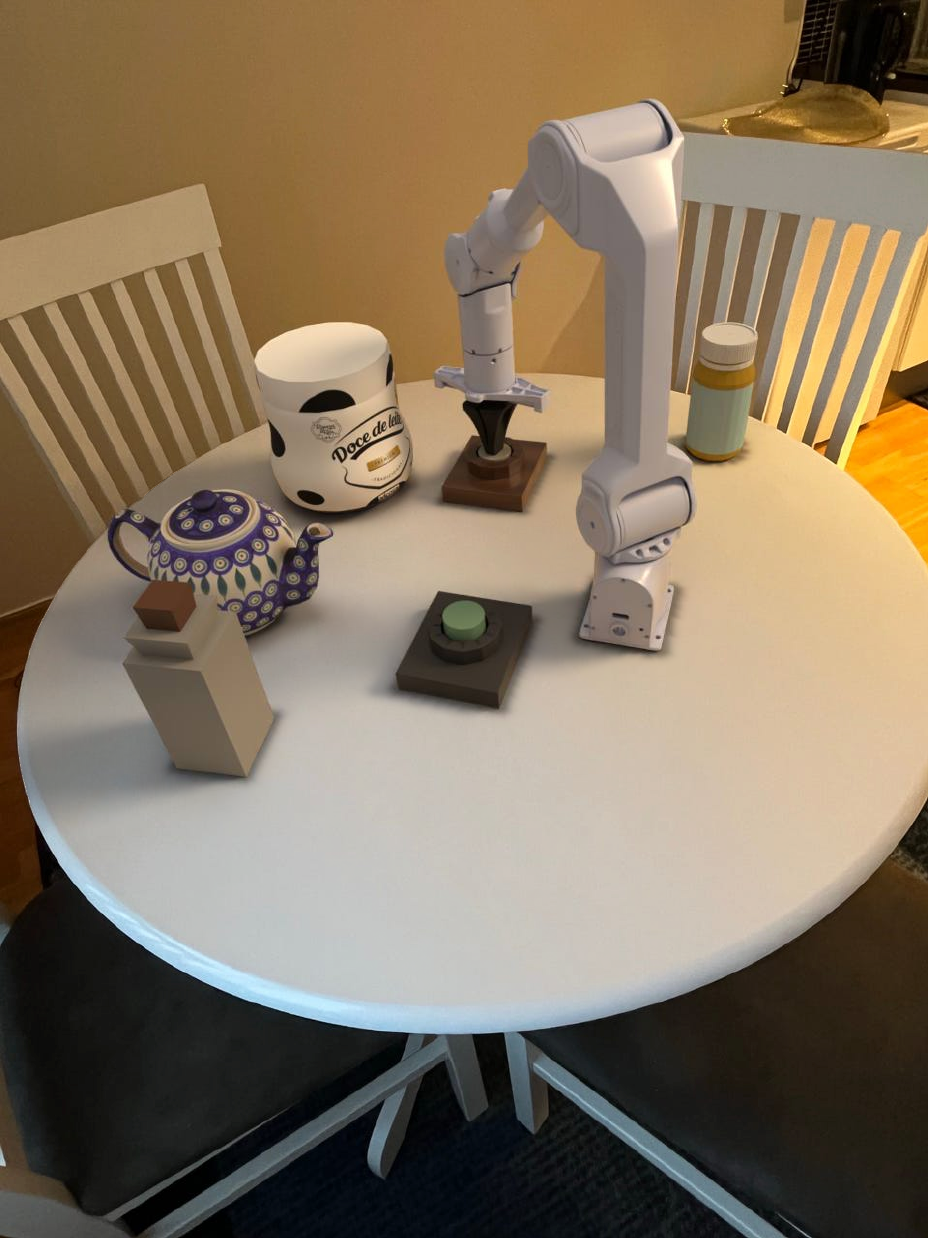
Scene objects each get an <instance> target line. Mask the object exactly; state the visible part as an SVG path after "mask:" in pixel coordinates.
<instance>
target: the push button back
mask: <svg viewBox="0 0 928 1238" xmlns="http://www.w3.org/2000/svg"><path fill="white" fill-rule="evenodd" d="M504 443H505V444H507V445H508V446H509V447H510V448H511V456H510V457H509V458H507V459H505V460H503V461H497V462H489V461H483V460H481V459H480V458H479V456H478V450H479V448H480V447H481V446H483V444H482V441H481V439H480V436H479V435H471V436H470V438H469V439H468V441H467V443H466V444H465V446H464V448H463V449H462V451H461V453H460V454H459V456H458V457H457V459H456V461H455V463H454V465H453V466H452V467H451V469H450V471H449V473H448V474H447V476H446V478H445V480H444V481H443V483H442V485H441V486H440V488H441V496H442V502H443V503H451V504H458V505H459V504H461V505H467V506H476V507H482V508H483V507H484V508H491V509H497V510H499V509H500V510H507V511H514V512H523V511H524V510H525V506H526V504H527V503H528V500H529V498H530V496H531V494H532V491H533V489H534V487H535V485H536V483H537V481H538V479H539V476H540V474H541V472H542V470H543V468H544V465H545V463H546V461H547V459H548V443H547V442H543V441H534V440H526V439H525V440H523V439H513V438H512V437H509V436H508V437H507V436H505V441H504Z"/></svg>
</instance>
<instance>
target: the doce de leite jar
mask: <svg viewBox="0 0 928 1238" xmlns="http://www.w3.org/2000/svg"><path fill="white" fill-rule="evenodd" d="M253 363H254V372H255V373H254V374H255V380H256V383H257V386H258V388H259V389H258V390H259V391H260V400H261V403H262V406H263V410H264V413H265V416H266V418H267V422H268V423H267V424H268V426H269V432H270V446H269V447H270V448H269V449H270V450H269V454H270V464H271V469H272V472H273V474H274V477H275V480H276V481H277V483H278V485H279V487H280V490H281V491H282V493H283V494H284V495H285V497H287V498H288V499H289V500H290V501H291V502H292V503H294V504H295V505H297V506H298V507H300V508H303V509H306V510H309V511H313V512H317V513H321V514H322V513H323V514H324V513H325V514H328V513H329V514H330V513H331V514H345V513H351V512H357V511H362V510H366V509H368V508H371V507H373V506H375V505H378V504H381V503H383V502H384V501H386V500H387V499H390V498H391V497H393V496H394V495H396V494H397V493H398V492H399V491H400V490H401V489H402V488H403V487H404V485H405V484H406V483H407V481H408V480H409V477H410V475H411V472H412V469H413V462H414V461H413V459H414V447H413V446H414V445H413V439H412V435H411V432H410V429H409V427H408V425H407V422H406V420H405V417H404V416H403V413H402V411H401V408H400V407H401V406H400V404H399V398H398V397H399V396H398V389H397V388H398V387H397V381H396V380H397V379H396V373H395V371H394V359H393V356H392V352H391V348H390V344H389V342H388V339H387V338H386V337H385V336H384V333H382V331H380V330H378V329H376V328H375V327H372V326H370V325H367V324H361V323H355V322H350V321H348V322H347V321H346V322H345V321H343V322H339V321H338V322H336V321H335V322H333V321H332V322H323V323H317V324H310V325H304V326H301V327H299V328H295V329H292V330H288V331H285V332H284V333H282V334H280V335H278V336H276V337H273V338H272V339H270V340H268V341H267V342H266V343H265V344H264V345H262V347H260V348H259V349H258V351H257V352H256V355H255V357H254V360H253Z"/></svg>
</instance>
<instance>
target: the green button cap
mask: <svg viewBox="0 0 928 1238" xmlns="http://www.w3.org/2000/svg"><path fill="white" fill-rule="evenodd" d="M442 619H443V627H444V632H445V634H446V636H447V637H448V638H449V639H451V640H453V641H459V642H467V641H472V640H476V639H477V638H479V637H480V636H482V635H483V633H484V632H485V629H486V623H485V612H484V609H483V608H482V607H481V606H480V605H479V604H477V603H475V602H472V601H458V602H455V603H452V604H450V605H449V606H448V607H447V608H446V609H445V610H444V612H443V615H442Z"/></svg>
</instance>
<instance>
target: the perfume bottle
mask: <svg viewBox="0 0 928 1238" xmlns="http://www.w3.org/2000/svg"><path fill="white" fill-rule="evenodd" d="M132 609H133V610H134V612H135V613H136V615H137V618H136V619H135V620H134V622H133V624H132V625H131V626H130V627H129V629H128V630H127V632H126V633H125V635H124V636H123V638H124V639H125V640H126V641H127V642H128V643H129V644H130V645H131V646H132V647H131V649H130V651H129V652H128V654H127V655H126V657H125V658H124V660H122V663H121V664H122V666H123V668H124V670H125V672H126V674H127V676H128V678H129V679H130V682H131V683H132V685H133V688H134V689H135V691H136V693H137V695H138V697H139V699H140V700H141V702H142V704H143V706H144V708H145V710H146V713H147V714H148V716H149V718H150V720H151V722H152V723H153V725H154V727H155V729H156V731H157V733H158V735H159V737H160V739H161V741H162V743H163V745H164V747H165V748H166V751H167V752H168V755H169V756H170V759H171V760H172V762H173V764H174V766H175V768H176V769H181V770H188V771H198V772H204V773H211V774H219V775H220V774H221V775H226V776H227V775H228V776H234V777H244V778H247V776H248V775H249V773H250V771H251V770H252V769H251V768H252V766H253V764H254V763H255V761H256V758H257V756H258V754H259V752H260V750H261V747H262V746H263V743H264V742H265V739H266V737H267V735H268V733H269V730H270V728H271V727H272V725H273V722H274V721H275V715H274V713H273V711H272V708H271V705H270V702H269V698H268V697H267V694H266V690H265V688H264V685H263V683H262V680H261V677H260V674H259V672H258V669H257V667H256V663H255V661H254V658H253V656H252V652H251V650H250V648H249V645H248V642H247V639H246V637H245V636H244V633H243V631H242V628H241V625H240V622H239V620H238V617H237V614H236V612H232V611H220V610H217V596H209V595H197V594H193V591H192V587H191V583H189V582H176V581H163V580H152V581H151V582H150V583H149V584H148V585H147V587H146V588H145V590H143V592H142V594H141V595H140V596H139V598H138V599H137V601H136V602H135V603H134V605H133V606H132Z"/></svg>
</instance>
